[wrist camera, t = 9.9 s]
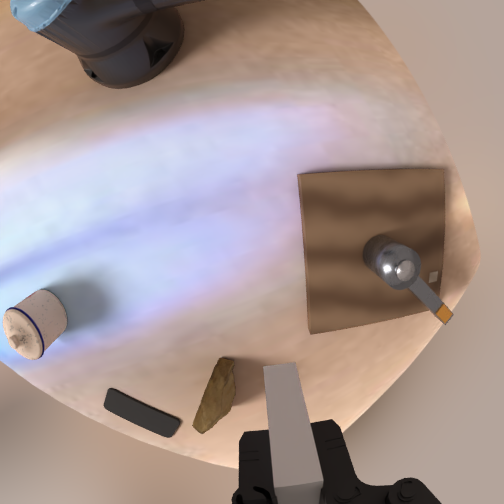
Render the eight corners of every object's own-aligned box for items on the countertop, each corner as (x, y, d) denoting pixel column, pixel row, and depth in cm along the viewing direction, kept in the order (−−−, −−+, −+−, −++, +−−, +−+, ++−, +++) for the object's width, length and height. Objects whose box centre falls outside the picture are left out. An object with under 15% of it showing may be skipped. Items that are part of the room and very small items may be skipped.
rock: (207, 350, 40) (171, 392, 41) (239, 395, 34) (196, 435, 35) (249, 358, 48) (216, 395, 49) (279, 394, 42) (241, 430, 43)
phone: (108, 387, 44) (181, 421, 46) (110, 384, 45) (182, 418, 47) (102, 407, 46) (169, 439, 48) (104, 405, 47) (170, 436, 49)
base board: (297, 174, 36) (300, 174, 34) (436, 168, 36) (444, 169, 34) (308, 327, 42) (310, 334, 40) (431, 303, 42) (437, 308, 40)
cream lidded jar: (34, 278, 39) (-8, 304, 28) (73, 304, 40) (34, 339, 29) (28, 328, 42) (-5, 359, 30) (64, 353, 43) (33, 390, 32)
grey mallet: (355, 256, 37) (379, 276, 29) (378, 227, 36) (406, 240, 28) (422, 317, 40) (447, 341, 32) (441, 293, 39) (469, 313, 31)
